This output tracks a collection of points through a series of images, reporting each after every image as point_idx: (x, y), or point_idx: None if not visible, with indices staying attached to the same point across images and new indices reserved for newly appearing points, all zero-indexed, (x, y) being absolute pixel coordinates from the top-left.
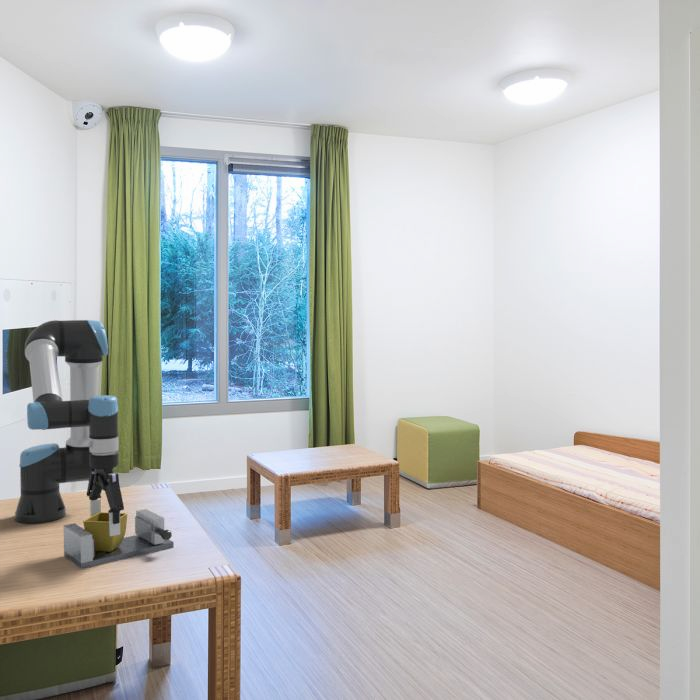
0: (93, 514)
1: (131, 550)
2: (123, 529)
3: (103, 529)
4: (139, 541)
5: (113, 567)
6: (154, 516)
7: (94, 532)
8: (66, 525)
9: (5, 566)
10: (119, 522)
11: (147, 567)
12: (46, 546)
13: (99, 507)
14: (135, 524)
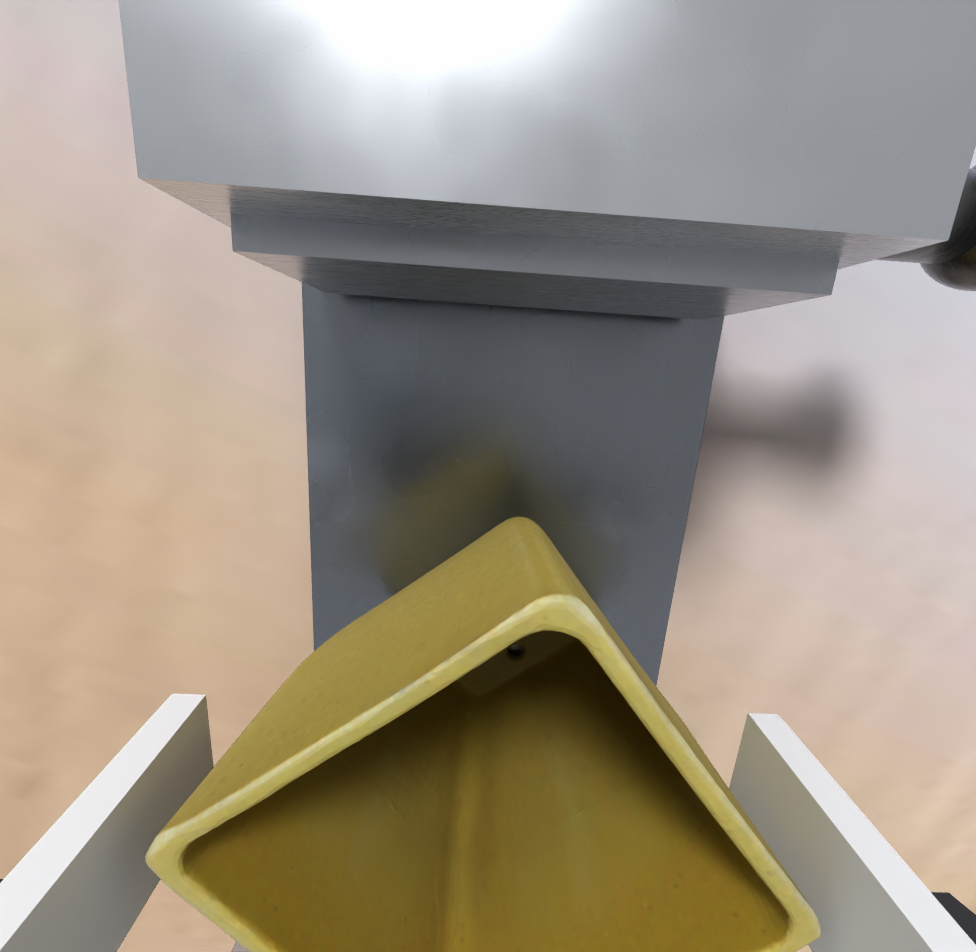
0: (134, 892)
1: (662, 502)
2: (576, 578)
3: (652, 871)
4: (503, 343)
5: (744, 662)
6: (765, 101)
7: (547, 873)
8: None
9: None
10: (894, 863)
11: (928, 519)
12: (68, 783)
13: (31, 940)
14: (298, 275)
